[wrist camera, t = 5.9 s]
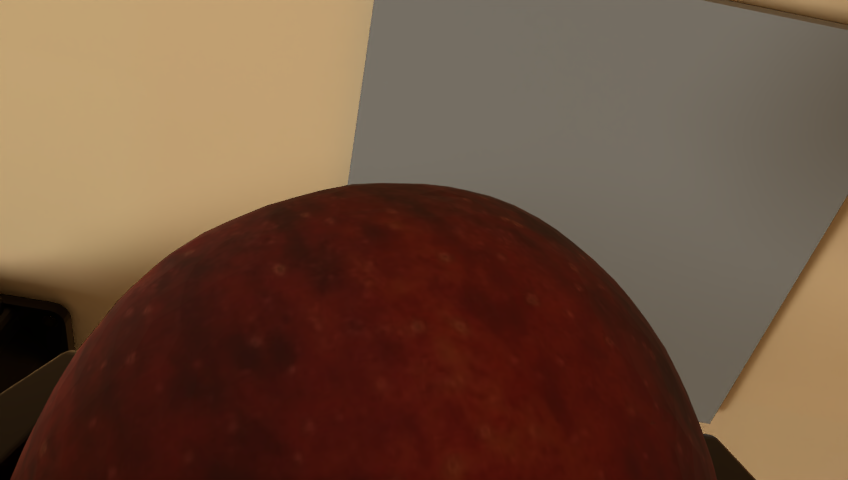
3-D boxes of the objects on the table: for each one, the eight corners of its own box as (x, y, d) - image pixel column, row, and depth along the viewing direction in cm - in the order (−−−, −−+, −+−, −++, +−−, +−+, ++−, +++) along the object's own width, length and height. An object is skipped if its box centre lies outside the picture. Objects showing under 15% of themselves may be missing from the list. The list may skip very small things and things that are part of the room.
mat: (704, 411, 26) (709, 423, 26) (324, 348, 25) (322, 360, 25) (923, 40, 18) (936, 48, 18) (385, -71, 17) (383, -66, 17)
